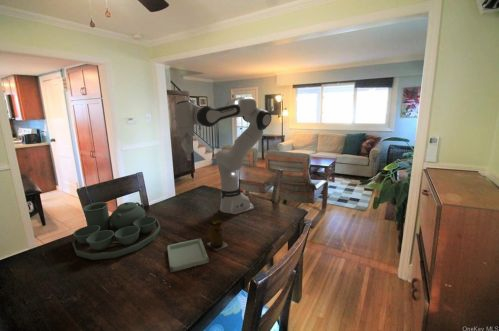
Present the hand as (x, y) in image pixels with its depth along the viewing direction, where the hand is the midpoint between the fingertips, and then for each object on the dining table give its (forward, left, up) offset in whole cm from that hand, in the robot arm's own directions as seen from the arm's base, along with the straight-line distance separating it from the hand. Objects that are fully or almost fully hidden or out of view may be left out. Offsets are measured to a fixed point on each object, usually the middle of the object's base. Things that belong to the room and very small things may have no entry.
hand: (188, 158), depth 126 cm
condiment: (-8, +25, -40) cm, 47 cm away
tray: (+7, +28, -39) cm, 49 cm away
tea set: (+37, -4, -40) cm, 55 cm away
